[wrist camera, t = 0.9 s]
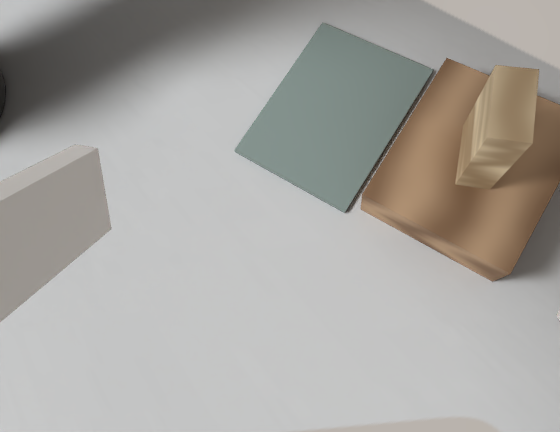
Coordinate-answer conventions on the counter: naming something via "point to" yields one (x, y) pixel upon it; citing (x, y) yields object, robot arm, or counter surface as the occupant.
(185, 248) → the counter surface
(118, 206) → the counter surface
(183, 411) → the counter surface
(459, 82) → the walnut block
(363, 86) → the rubber mat
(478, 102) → the birch block
